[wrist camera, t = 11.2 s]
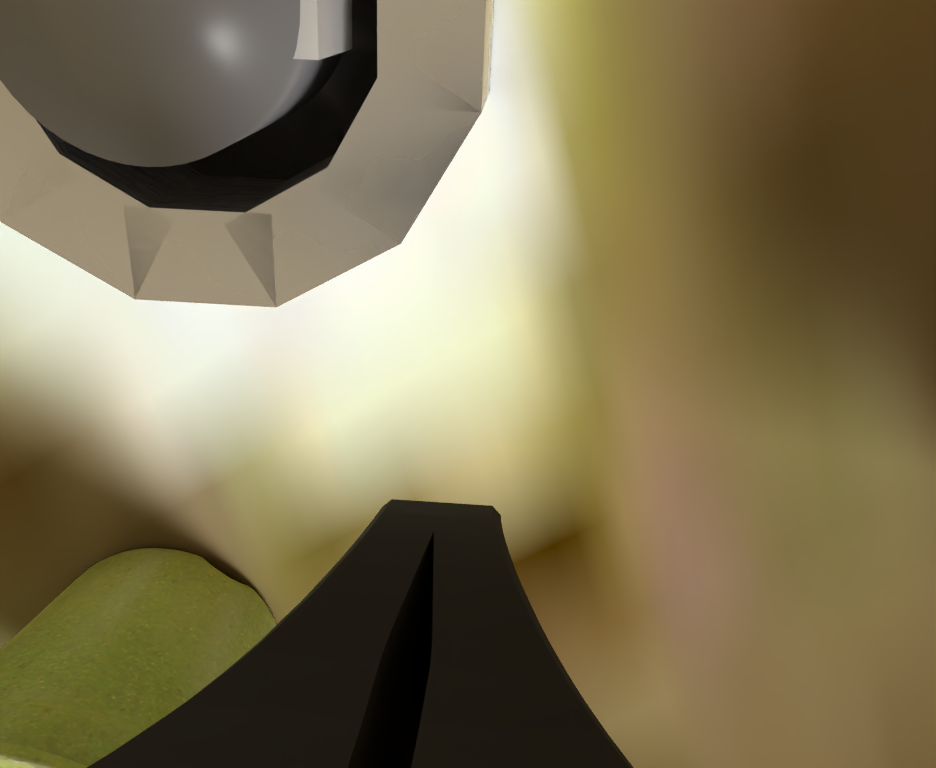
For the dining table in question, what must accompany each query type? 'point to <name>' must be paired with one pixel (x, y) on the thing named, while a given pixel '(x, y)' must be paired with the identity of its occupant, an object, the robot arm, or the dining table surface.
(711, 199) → the dining table surface
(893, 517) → the dining table surface
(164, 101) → the cap
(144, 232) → the faceted ring
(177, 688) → the plant pot
